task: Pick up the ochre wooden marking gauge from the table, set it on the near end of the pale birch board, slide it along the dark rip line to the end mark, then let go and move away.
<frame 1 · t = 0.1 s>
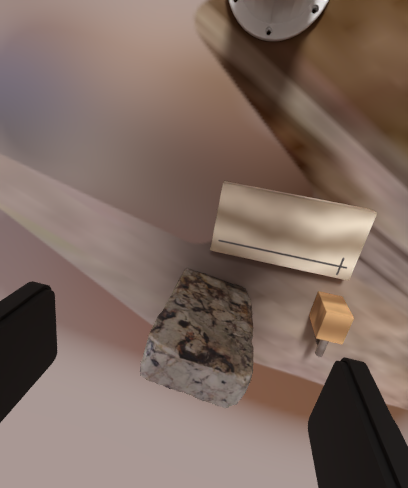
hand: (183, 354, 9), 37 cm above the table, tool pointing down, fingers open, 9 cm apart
marking gauge: (325, 306, 48), on the table
stone block: (215, 288, 51), on the table
birch board: (286, 228, 45), on the table
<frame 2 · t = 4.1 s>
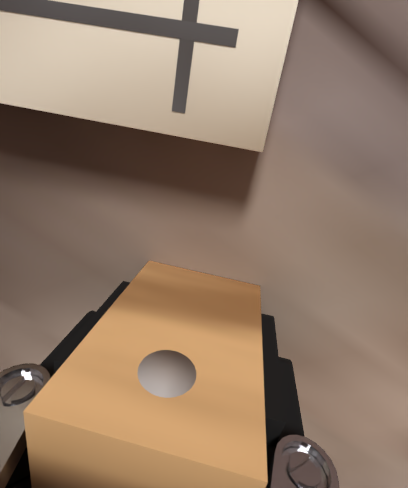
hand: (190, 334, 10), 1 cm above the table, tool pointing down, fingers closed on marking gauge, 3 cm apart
marking gauge: (192, 329, 11), on the table, touching gripper
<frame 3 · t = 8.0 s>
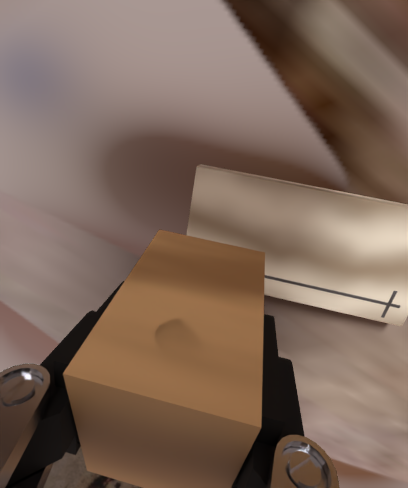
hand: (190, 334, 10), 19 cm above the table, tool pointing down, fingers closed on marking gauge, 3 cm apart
marking gauge: (202, 290, 12), point 17 cm above the table, tilted 11°, touching gripper
stone block: (191, 329, 34), on the table
birch board: (300, 242, 28), on the table
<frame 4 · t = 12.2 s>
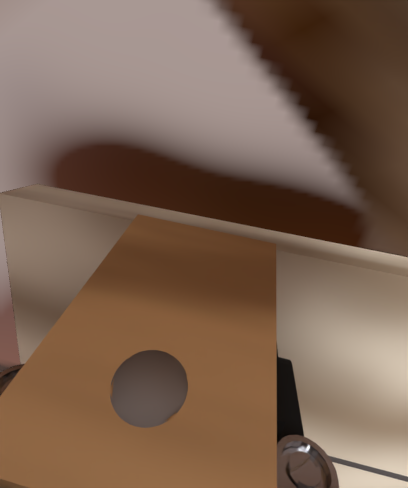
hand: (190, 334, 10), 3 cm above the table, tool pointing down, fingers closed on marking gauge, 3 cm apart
marking gauge: (196, 289, 10), point 3 cm above the table, tilted 15°, touching gripper
birch board: (265, 345, 13), on the table
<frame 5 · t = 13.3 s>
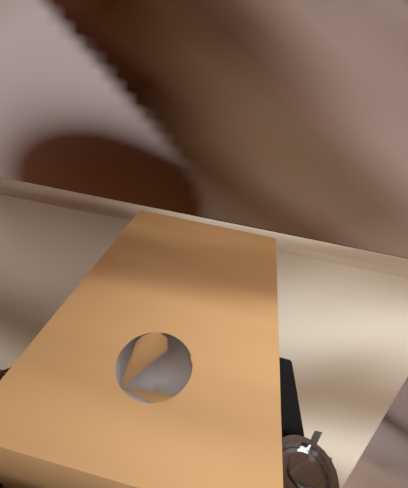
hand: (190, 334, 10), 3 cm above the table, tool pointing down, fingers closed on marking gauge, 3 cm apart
marking gauge: (196, 286, 10), point 3 cm above the table, tilted 13°, touching birch board, gripper
birch board: (134, 315, 14), on the table
when the fingers open (3 cm above the table, at t = 14.6 s): marking gauge stays where it is, resting on birch board.
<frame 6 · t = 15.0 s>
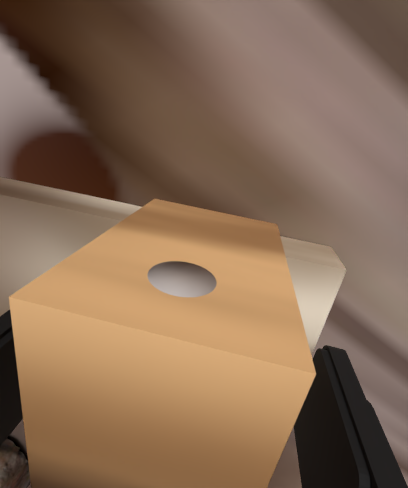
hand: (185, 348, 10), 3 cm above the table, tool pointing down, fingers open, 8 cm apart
marking gauge: (202, 278, 10), point 2 cm above the table, touching birch board
birch board: (66, 300, 14), on the table
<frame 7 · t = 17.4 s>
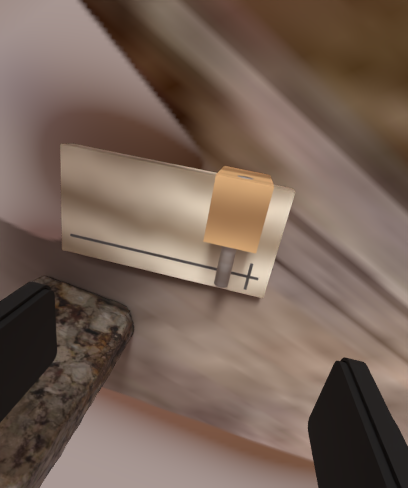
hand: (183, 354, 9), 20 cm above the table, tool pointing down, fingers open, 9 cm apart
marking gauge: (240, 198, 26), point 2 cm above the table, touching birch board
stone block: (88, 305, 36), on the table
birch board: (171, 218, 30), on the table
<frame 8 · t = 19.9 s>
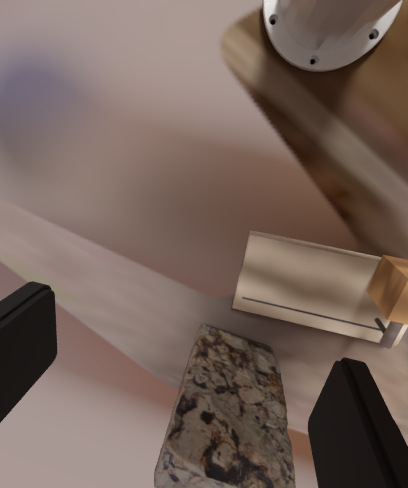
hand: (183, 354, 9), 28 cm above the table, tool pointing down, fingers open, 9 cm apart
marking gauge: (391, 276, 34), point 2 cm above the table, touching birch board
stone block: (235, 345, 44), on the table
birch board: (322, 284, 38), on the table
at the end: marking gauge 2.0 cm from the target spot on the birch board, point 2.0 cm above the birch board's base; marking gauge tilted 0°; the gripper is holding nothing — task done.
